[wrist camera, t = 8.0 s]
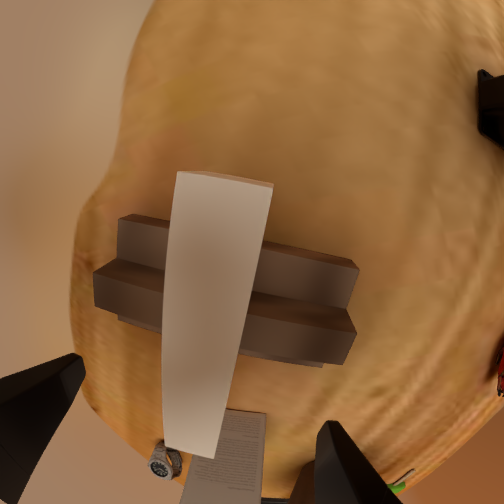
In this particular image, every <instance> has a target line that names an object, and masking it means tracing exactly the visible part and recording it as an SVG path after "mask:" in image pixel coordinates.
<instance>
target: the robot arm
mask: <svg viewBox="0 0 504 504" xmlns="http://www.w3.org/2000/svg"><path fill="white" fill-rule="evenodd" d="M478 76H479V124H478V129H479V132H480V133H481V134H482V135H483V136H485V137H486V138H488V139H489V140H490V141H492V142H493V143H495V144H496V145H497V146H499V147H500V148H501V149H503V150H504V75H501V76H498V77H493V76H492V75H490V74H489V73H488V72H486V71H485V70H483V69H481V70H479V71H478ZM483 128H484V130H483ZM85 375H86V370H85V366H84V362H83V358H82V357H81V356H80V355H77V354H75V353H70V354H67V355H65V356H62V357H59V358H57V359H54V360H51V361H48V362H45V363H43V364H40V365H37V366H34V367H32V368H29V369H26V370H23V371H20V372H17V373H15V374H12V375H9V376H6V377H3V378H1V379H0V499H1V500H2V501H4V502H5V503H7V504H17V503H18V501H19V499H20V497H21V495H22V492H23V491H24V489H25V487H26V485H27V483H28V481H29V479H30V476H31V474H32V473H33V471H34V469H35V467H36V465H37V463H38V461H39V459H40V457H41V456H42V454H43V452H44V450H45V449H46V447H47V445H48V443H49V442H50V440H51V438H52V436H53V435H54V433H55V431H56V430H57V428H58V426H59V425H60V423H61V421H62V420H63V418H64V416H65V415H66V413H67V411H68V410H69V408H70V406H71V405H72V403H73V401H74V399H75V396H76V394H77V392H78V390H79V388H80V386H81V384H82V382H83V380H84V378H85ZM314 487H315V504H403V503H401V501H400V500H399V499H398V497H397V496H396V495H395V494H394V493H393V492H392V490H391V489H390V488H388V485H387V484H386V483H385V482H384V480H383V479H382V478H381V477H380V475H379V474H378V473H377V471H376V470H375V469H374V468H373V466H372V465H371V464H370V462H369V461H368V460H367V459H366V457H365V456H364V455H363V453H362V452H361V451H360V449H359V448H358V447H357V446H356V444H355V443H354V442H353V440H352V439H351V438H350V436H349V435H348V434H347V432H346V431H345V430H344V428H343V427H342V426H341V424H340V423H339V422H338V421H333V420H327V421H326V422H325V423H324V425H323V426H322V428H321V429H320V431H319V432H318V435H317V441H316V455H315V466H314Z"/></svg>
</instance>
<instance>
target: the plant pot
mask: <svg viewBox="0 0 504 504" xmlns="http://www.w3.org/2000/svg"><path fill="white" fill-rule="evenodd" d="M314 466H315V461H314V462H311V463H309V464H308V465H306V466H305V467H304V468H303V469H302V471H301V473H300V475H299V477H298V479H297V482H296V484H295V486H294V489H293V491H292V493H291V496H290V498H289V501H288V503H287V504H315V487H314Z"/></svg>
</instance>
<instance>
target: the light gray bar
mask: <svg viewBox="0 0 504 504" xmlns="http://www.w3.org/2000/svg"><path fill="white" fill-rule="evenodd" d="M273 188H274V184H273V183H269V182H264V181H259V180H254V179H249V178H243V177H238V176H233V175H227V174H221V173H215V172H209V171H177V178H176V184H175V191H174V197H173V205H172V212H171V220H170V228H169V237H168V247H167V257H166V268H165V281H164V297H163V317H162V408H163V427H164V441H165V446H167V447H170V448H173V449H177V450H180V451H184V452H187V453H191V454H195V455H199V456H203V457H207V458H211V459H214V456H215V451H216V447H217V443H218V438H219V434H220V430H221V425H222V421H223V417H224V412H225V408H226V404H227V399H228V395H229V390H230V386H231V381H232V377H233V373H234V368H235V364H236V359H237V355H238V350H239V346H240V341H241V337H242V332H243V328H244V323H245V319H246V314H247V310H248V305H249V300H250V296H251V291H252V287H253V282H254V277H255V273H256V268H257V264H258V259H259V254H260V250H261V245H262V240H263V236H264V231H265V226H266V221H267V217H268V212H269V207H270V202H271V198H272V193H273Z"/></svg>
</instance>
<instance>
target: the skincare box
mask: <svg viewBox="0 0 504 504" xmlns="http://www.w3.org/2000/svg"><path fill="white" fill-rule="evenodd" d="M265 429H266V414H264V413H253V412H244V411H236V410H228V409H225V412H224V417H223V421H222V425H221V430H220V434H219V438H218V443H217V447H216V451H215V456H214V459H211V458H207V457H203V456H199V455H195V454H193V456H192V460H191V463H190V467H189V471H188V474H187V478H186V482H185V486H184V490H183V494H182V497H181V500H180V503H179V504H261V490H262V476H263V461H264V446H265Z"/></svg>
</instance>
